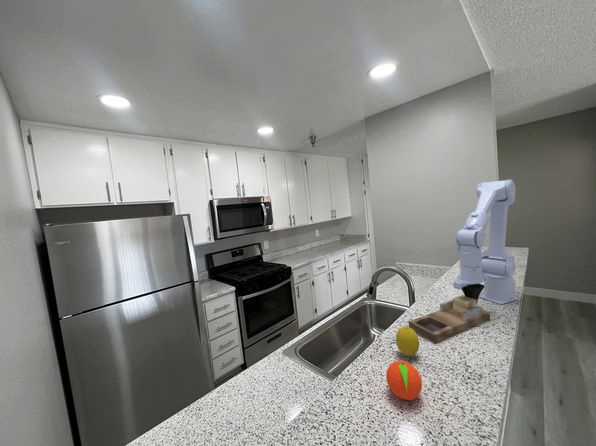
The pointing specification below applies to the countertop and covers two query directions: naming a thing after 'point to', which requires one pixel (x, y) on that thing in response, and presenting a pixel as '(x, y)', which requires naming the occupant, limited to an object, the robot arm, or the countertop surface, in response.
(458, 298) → the maple block
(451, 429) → the countertop surface
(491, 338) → the countertop surface
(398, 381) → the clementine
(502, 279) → the robot arm
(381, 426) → the countertop surface
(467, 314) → the channel walls
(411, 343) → the lemon
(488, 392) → the countertop surface
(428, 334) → the board
